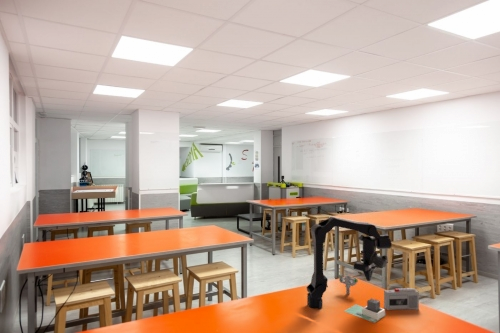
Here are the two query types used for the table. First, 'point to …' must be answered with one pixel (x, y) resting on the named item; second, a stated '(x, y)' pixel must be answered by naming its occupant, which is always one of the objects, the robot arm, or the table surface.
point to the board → (360, 313)
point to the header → (373, 313)
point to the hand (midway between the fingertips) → (368, 280)
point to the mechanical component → (348, 282)
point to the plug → (373, 305)
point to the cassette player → (401, 299)
